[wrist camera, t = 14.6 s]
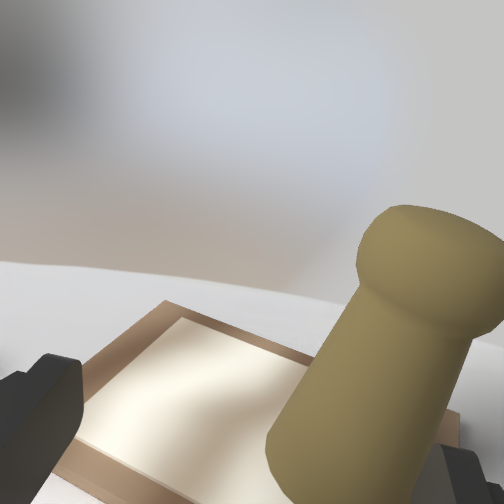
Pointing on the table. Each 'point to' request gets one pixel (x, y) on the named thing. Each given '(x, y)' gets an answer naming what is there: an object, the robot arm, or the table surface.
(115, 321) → the table surface
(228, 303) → the table surface
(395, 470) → the cork
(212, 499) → the brown picture frame
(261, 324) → the table surface
